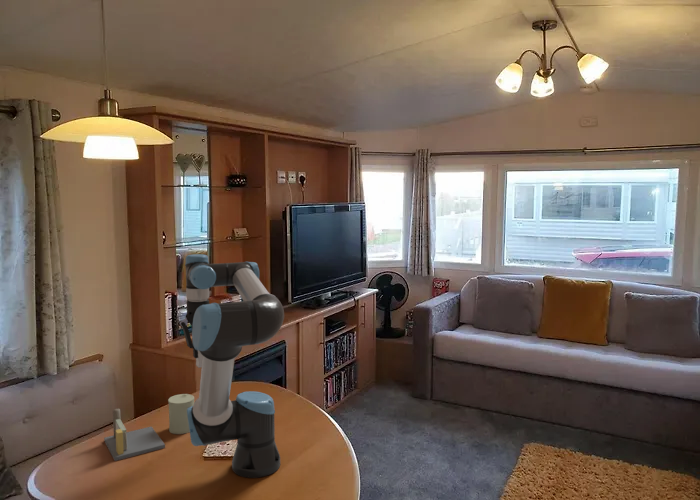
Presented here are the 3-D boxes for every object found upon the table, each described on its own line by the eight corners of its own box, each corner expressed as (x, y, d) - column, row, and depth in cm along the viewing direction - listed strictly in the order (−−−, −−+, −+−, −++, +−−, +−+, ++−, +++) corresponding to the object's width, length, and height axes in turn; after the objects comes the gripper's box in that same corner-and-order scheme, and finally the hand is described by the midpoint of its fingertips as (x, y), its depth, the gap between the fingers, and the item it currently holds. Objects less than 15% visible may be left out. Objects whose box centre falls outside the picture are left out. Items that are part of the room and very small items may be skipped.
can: (199, 423, 201) (198, 393, 200) (189, 434, 192) (188, 402, 191) (175, 422, 202) (174, 392, 201) (164, 433, 193) (163, 401, 192)
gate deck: (165, 447, 182) (164, 416, 181) (114, 461, 173) (113, 428, 172) (151, 429, 196) (150, 400, 195) (104, 440, 187) (102, 410, 186)
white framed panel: (116, 438, 186) (115, 419, 185) (121, 437, 187) (120, 418, 186) (122, 450, 177) (121, 430, 177) (127, 449, 178) (126, 429, 177)
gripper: (212, 295, 190) (213, 360, 193) (175, 299, 183) (177, 366, 186) (220, 299, 184) (221, 365, 187) (182, 303, 177) (184, 372, 179)
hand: (199, 366), depth 186 cm, fingers closed
